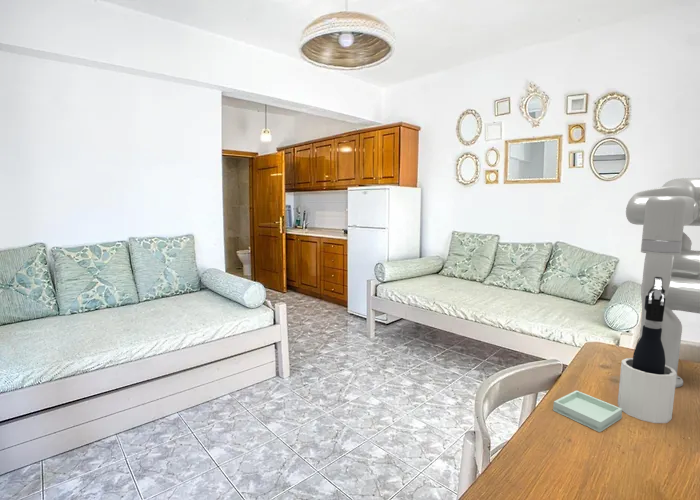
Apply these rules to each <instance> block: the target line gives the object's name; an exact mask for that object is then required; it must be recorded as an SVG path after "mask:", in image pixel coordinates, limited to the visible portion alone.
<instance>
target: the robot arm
mask: <svg viewBox="0 0 700 500" xmlns="http://www.w3.org/2000/svg"><path fill="white" fill-rule="evenodd" d="M625 217H626V220H627V221H628V223H630V224H632V225H637V226H642V236H641V245H640V253H643V254H645V256H644V257H645V258H644V262H643V271H642V281H641V286H640V296H641V321H640V332H639V339H640V338H641V336H642V330H643V326H644V325H645V324H644V323H645V321H644V320H645V319H647V320H652V321H658V322H661V324H660V325H661V327H660V328H661V329H662V333H661V342H662V345H663V348H664V353H665V365H667V366H669V367H671V368H673V369H674V370H675V371H676V373H677V374H678V367H679V362H680V361H679V359H680V352H681V351H680V350H681V341H682V333H683V324H682V321H681V319H679V317H678V316H677V315H676V313H674V311H681V312H685V313H694V314H700V250H695V249H692V244H693V242H692V240H691V238H690V237H689V236H688V234H687V233H685V232H684V227H685V226H687V227H690V226H691V227H700V177H685V178H684V177H682V178H674V179H673V178H672V179H670V180H668V181H666V182H665V183H664V184H663V185H662V186H661V187H656V188H652V189H647V190H641V191H638V192H635V193H634V194H633V195H632V196H631V198H630V199H629V200H628V203H627V205H626V208H625ZM691 249H692V250H691ZM647 295H649V303H647V308H646V309H644V307H645V297H646V296H647ZM664 298H665V308H664V305H663V304H664ZM683 385H684V379H683V378H681V376H679V375H677V376H676V385H675V389H676V388H680V387H683Z"/></svg>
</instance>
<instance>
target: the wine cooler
mask: <svg viewBox="0 0 700 500" xmlns="http://www.w3.org/2000/svg"><path fill="white" fill-rule="evenodd" d="M632 364H633V357H626V358H624V359H622V360H621V365H620V375H619V385H618V395H617V407H619V408H622V413H625V414H626V415H628V416H630V417H632V418H635V419H638V420H641V421H644V422H648V423H653V424H668V423H669V422H670V421H671V420H672V418H673V410H674V401H675V392H676V388H675V385H676V376H678V372H677V373H676V371H675V370H674V369H673V368H671V367H669V366H667V365H665V371H664V375H658V374H652V373H646V372H643V371H640V370H637V369H634V368H632Z"/></svg>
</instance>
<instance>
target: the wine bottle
mask: <svg viewBox="0 0 700 500" xmlns="http://www.w3.org/2000/svg"><path fill="white" fill-rule="evenodd" d="M647 303H649V295H647V296H646V297H645V307H644V309H646V308H647ZM663 305H664V308H665V298H664V304H663ZM644 321H645V323H644V324H645V325H644V326H643V330H642V336H641V338H640V337H639V339H638V342H637V344H636V346H635V348H634V351H633V356H632V358H633V364H632V368H634V369H637V370H640V371H643V372H646V373H652V374H658V375H664V371H665V353H664V348H663V345H662V342H661V333H662V329H661V328H660V327H661V325H660V324H661V322H658V321H652V320H647V319H645V320H644Z"/></svg>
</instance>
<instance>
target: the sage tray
mask: <svg viewBox="0 0 700 500" xmlns="http://www.w3.org/2000/svg"><path fill="white" fill-rule="evenodd" d="M552 406H553V408H552V411H554V412H555V413H557V414H560V415H562V416H564V417H567V418H568V419H571V420H573V421H575V422H576V423H578V424H581V425H583V426H585V427H588V428H590V429H592V430H594V431H596V432H597V433H602V431H604V430H606V429H607V428H609V427H610V426H612V425H613V424H615V423H617V422H618V421H620V420H621V419H622V418H623V411H622V408H619V406H618V405H617V406H616V405H614V404H612V403H609V402H606V401H605V400H602V399H599V398H597V397H594V396H591V395H589V394H587V393H584V392H582V391H579V390H574V391H572V392H570V393H568V394H566V395H564V396H562V397H560V398H558V399H556V400H554V401H553V405H552Z"/></svg>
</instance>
